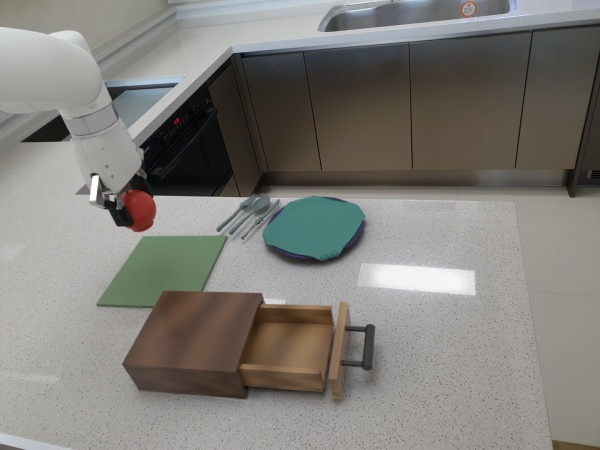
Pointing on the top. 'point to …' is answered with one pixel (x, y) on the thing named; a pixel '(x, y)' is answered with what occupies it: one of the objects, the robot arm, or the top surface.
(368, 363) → the drawer
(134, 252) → the mat
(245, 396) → the cabinet
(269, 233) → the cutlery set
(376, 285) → the top surface
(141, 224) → the apple
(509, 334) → the top surface
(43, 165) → the top surface
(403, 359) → the top surface
